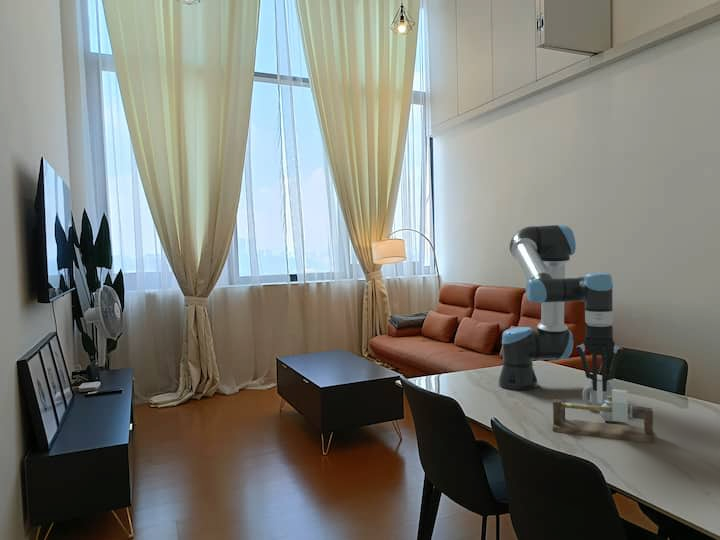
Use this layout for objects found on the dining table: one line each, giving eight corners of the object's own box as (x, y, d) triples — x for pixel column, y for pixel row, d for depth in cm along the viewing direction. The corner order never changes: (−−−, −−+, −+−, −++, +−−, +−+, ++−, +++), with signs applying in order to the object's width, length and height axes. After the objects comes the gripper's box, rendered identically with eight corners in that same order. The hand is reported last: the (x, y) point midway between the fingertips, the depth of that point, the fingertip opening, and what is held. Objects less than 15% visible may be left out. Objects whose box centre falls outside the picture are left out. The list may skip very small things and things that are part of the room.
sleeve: (612, 420, 148) (612, 392, 148) (612, 415, 153) (611, 388, 152) (627, 422, 146) (627, 393, 146) (627, 416, 151) (626, 389, 151)
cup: (616, 412, 169) (616, 385, 168) (586, 412, 170) (585, 386, 169) (608, 405, 176) (607, 380, 175) (578, 405, 177) (578, 380, 176)
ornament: (624, 424, 157) (623, 393, 156) (599, 424, 158) (599, 393, 157) (616, 418, 163) (616, 387, 162) (592, 418, 164) (592, 387, 163)
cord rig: (552, 431, 154) (552, 402, 153) (555, 421, 162) (554, 394, 161) (654, 443, 142) (653, 412, 142) (651, 432, 150) (650, 403, 150)
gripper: (574, 325, 150) (576, 403, 151) (623, 327, 145) (624, 407, 146) (575, 321, 157) (576, 395, 158) (622, 323, 151) (623, 399, 152)
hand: (599, 401), depth 152 cm, fingers closed
